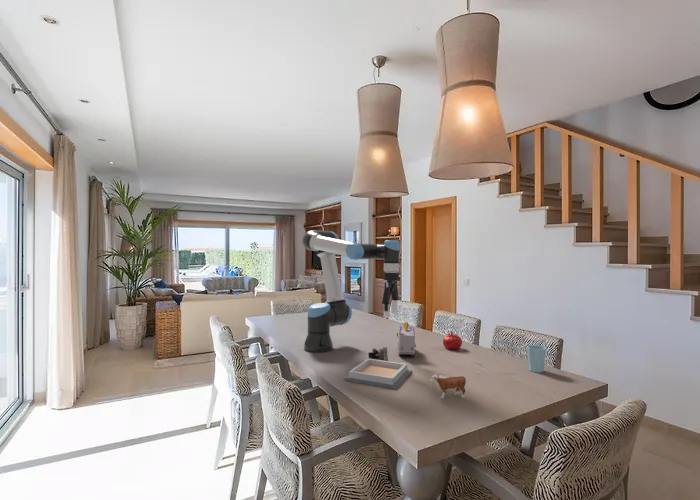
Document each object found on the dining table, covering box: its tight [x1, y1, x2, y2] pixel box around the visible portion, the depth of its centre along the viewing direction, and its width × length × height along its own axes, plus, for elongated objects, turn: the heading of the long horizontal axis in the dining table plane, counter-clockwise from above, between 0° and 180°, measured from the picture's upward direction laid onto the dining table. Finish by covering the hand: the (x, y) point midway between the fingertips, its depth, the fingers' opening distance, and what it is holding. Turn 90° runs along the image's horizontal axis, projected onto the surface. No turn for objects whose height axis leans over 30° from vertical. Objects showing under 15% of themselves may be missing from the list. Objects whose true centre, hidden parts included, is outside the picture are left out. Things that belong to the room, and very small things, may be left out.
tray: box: [343, 358, 413, 390], centre depth 158 cm, size 22×22×4 cm
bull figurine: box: [428, 373, 466, 400], centre depth 136 cm, size 4×13×8 cm, turn 94°
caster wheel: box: [367, 346, 389, 361], centre depth 181 cm, size 7×11×10 cm
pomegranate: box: [442, 330, 463, 350], centre depth 204 cm, size 10×10×9 cm
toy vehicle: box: [396, 321, 417, 357], centre depth 194 cm, size 9×20×15 cm, turn 174°
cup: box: [526, 344, 547, 374], centre depth 168 cm, size 8×8×10 cm
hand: (390, 315), depth 184 cm, fingers open, 13 cm apart
